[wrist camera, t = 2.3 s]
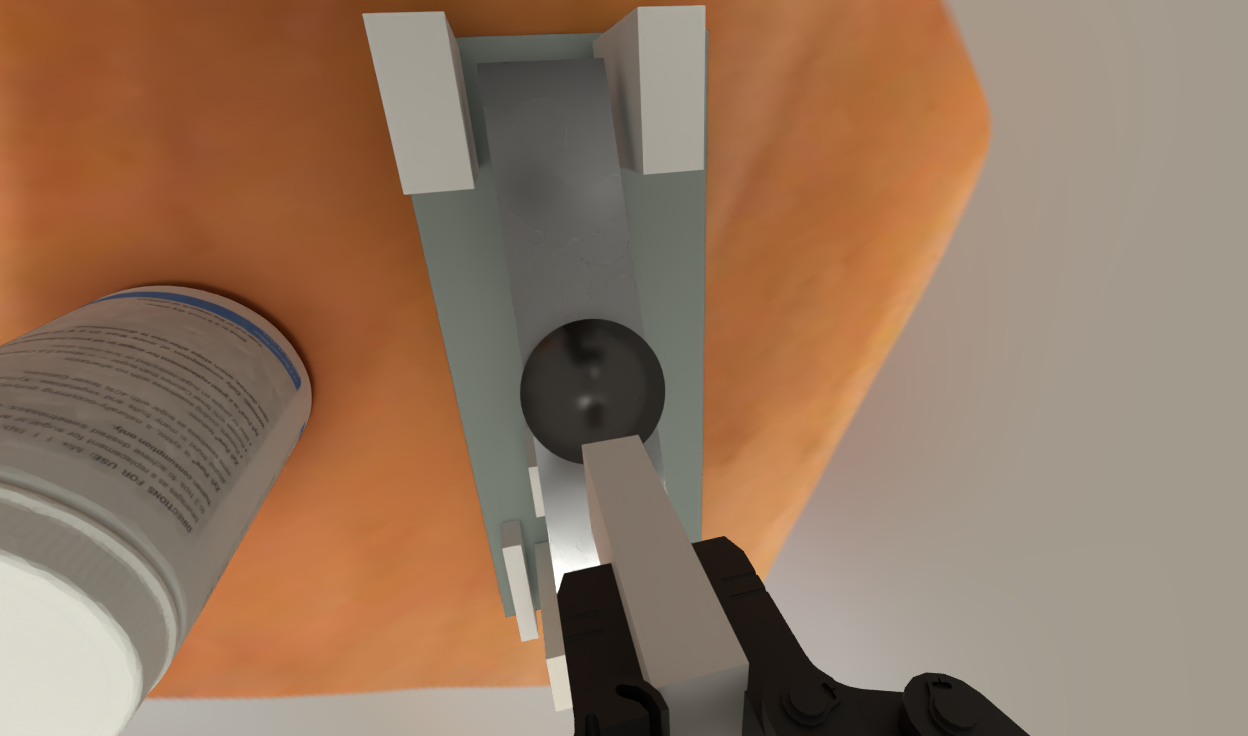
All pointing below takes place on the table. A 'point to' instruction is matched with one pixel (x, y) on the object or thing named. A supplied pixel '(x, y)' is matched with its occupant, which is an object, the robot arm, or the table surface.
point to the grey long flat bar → (569, 282)
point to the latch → (552, 628)
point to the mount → (475, 255)
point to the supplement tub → (128, 491)
